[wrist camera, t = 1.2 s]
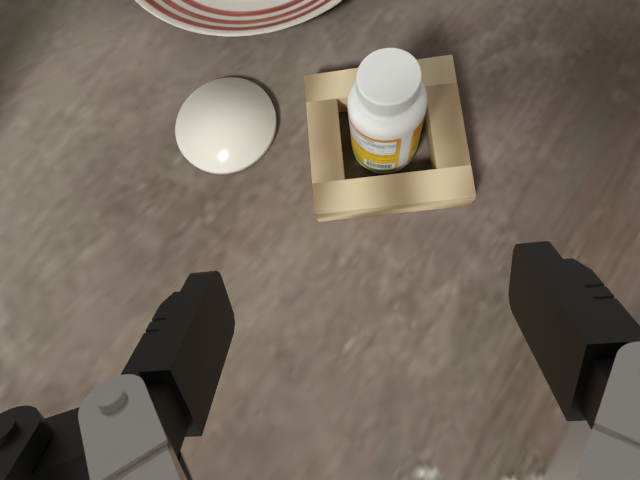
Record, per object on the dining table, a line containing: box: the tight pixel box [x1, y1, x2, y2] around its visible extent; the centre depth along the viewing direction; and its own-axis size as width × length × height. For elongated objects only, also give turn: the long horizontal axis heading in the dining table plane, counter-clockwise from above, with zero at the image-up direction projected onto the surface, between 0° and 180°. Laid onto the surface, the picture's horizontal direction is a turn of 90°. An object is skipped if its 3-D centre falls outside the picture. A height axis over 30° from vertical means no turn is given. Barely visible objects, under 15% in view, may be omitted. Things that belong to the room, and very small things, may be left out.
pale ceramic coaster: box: [175, 77, 277, 175], centre depth 37 cm, size 9×9×1 cm
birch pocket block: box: [304, 55, 476, 222], centre depth 34 cm, size 12×12×2 cm
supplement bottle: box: [347, 48, 427, 174], centre depth 30 cm, size 5×5×10 cm
